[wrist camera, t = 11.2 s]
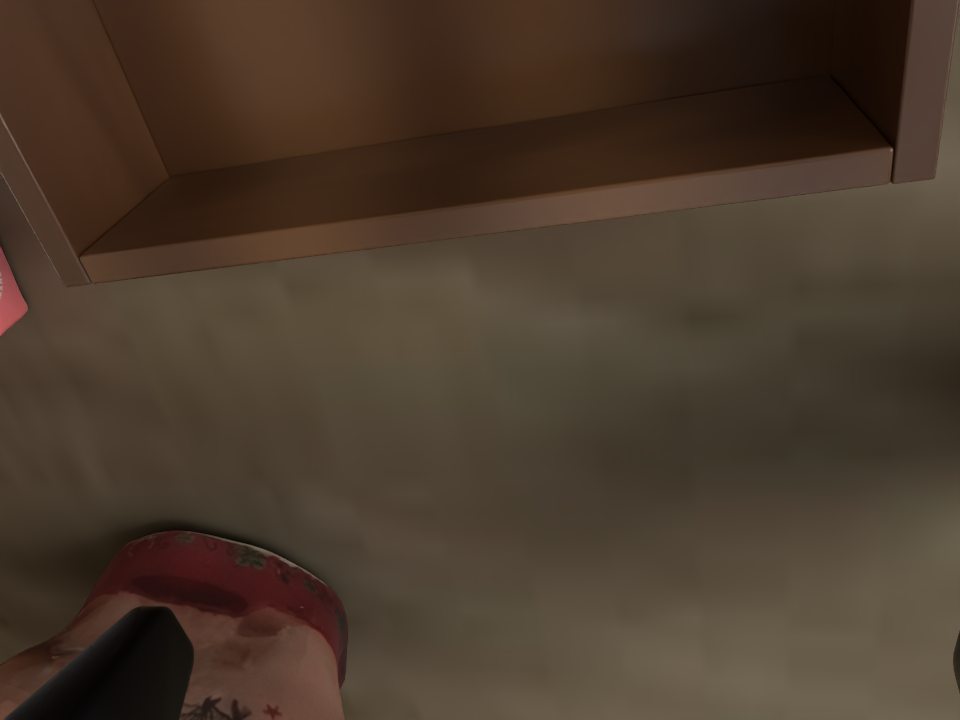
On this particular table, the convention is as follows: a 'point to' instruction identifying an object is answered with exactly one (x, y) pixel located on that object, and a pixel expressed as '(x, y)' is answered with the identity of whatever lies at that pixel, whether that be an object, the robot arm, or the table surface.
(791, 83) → the wooden tray
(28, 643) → the table surface
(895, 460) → the table surface
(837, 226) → the table surface
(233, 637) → the decorative planter
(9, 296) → the ink cartridge box
